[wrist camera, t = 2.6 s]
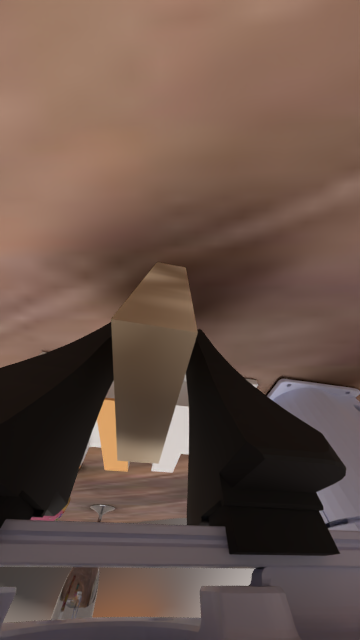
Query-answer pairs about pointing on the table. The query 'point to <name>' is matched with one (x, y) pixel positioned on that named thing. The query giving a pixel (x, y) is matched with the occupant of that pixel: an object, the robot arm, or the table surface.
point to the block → (151, 360)
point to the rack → (175, 438)
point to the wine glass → (80, 586)
